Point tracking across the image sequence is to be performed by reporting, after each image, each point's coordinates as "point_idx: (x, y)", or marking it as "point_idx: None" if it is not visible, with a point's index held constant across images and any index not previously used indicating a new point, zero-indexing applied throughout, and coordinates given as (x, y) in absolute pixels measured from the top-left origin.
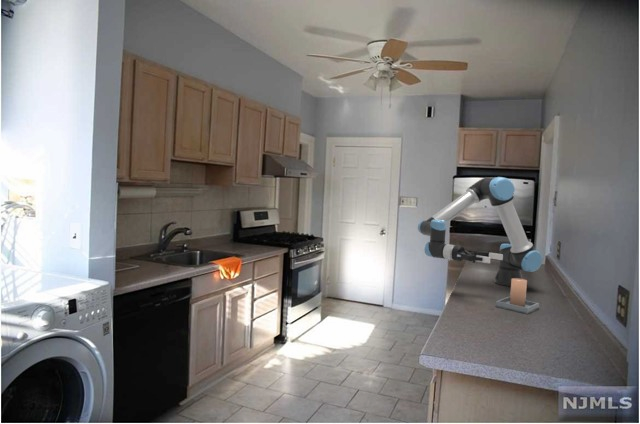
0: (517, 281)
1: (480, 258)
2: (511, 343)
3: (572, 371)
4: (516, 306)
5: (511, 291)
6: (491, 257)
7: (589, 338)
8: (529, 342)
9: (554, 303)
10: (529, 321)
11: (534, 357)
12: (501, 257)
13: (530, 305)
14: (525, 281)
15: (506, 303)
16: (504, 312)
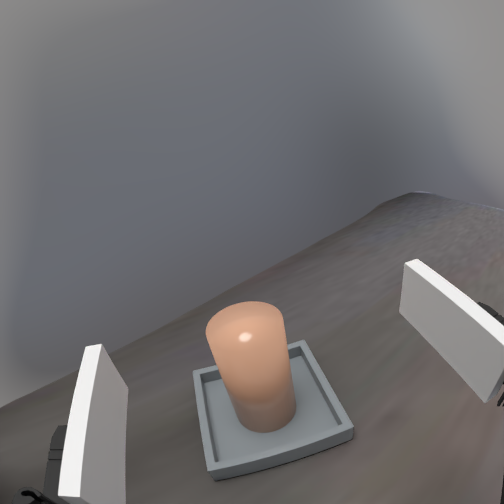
0: (280, 313)
1: (487, 310)
2: (475, 242)
3: (438, 203)
4: (318, 366)
5: (287, 376)
6: (116, 486)
7: (317, 247)
8: (443, 243)
9: None
10: (357, 312)
11: (463, 219)
12: (116, 374)
13: (206, 398)
14: (247, 302)
15: (332, 394)
16: (370, 381)
